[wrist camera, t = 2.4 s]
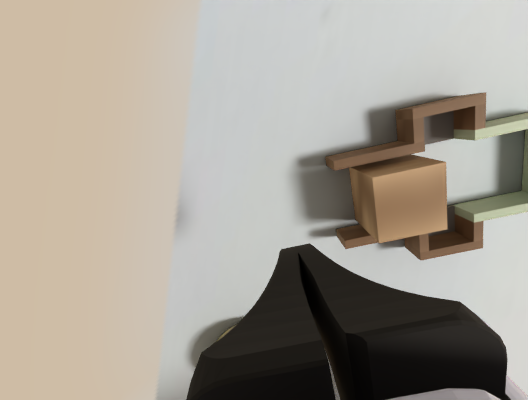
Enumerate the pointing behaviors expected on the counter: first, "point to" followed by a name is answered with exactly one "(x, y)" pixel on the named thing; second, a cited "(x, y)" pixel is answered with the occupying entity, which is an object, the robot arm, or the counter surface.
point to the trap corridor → (414, 140)
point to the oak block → (400, 197)
